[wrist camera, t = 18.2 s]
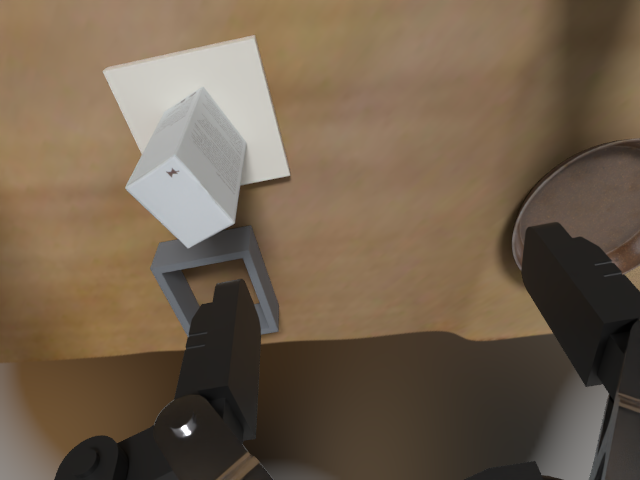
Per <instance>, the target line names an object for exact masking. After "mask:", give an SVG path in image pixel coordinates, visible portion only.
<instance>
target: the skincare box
mask: <svg viewBox="0 0 640 480" xmlns="http://www.w3.org/2000/svg"><path fill="white" fill-rule="evenodd" d="M245 151H246V141H245V140H244V139H243V138H242V136H241V135H240V134H239V132H238V131H237V130H236V128H235V127H234V126H233V124H232V123H231V122H230V121H229V119H228V118H227V117H226V115H225V114H224V113H223V111H222V110H221V109H220V108H219V106H218V105H217V104H216V102H215V101H214V100H213V99H212V97H211V96H210V95H209V93H208V92H207V91H206V89H205V88H204V87H201V88H200V89H198V90H197V91H195V92H194V93H192V94H190V95H189V96H187V97H186V98H184V99H183V100H182V101H180V102H179V103H177V104H176V105H174V106H173V107H171V108H170V109H168V110H167V111H165V112H164V113H163V115H162V117H161V119H160V121H159V123H158V125H157V127H156V129H155V131H154V133H153V135H152V137H151V139H150V140H149V142H148V144H147V146H146V148H145V150H144V152H143V154H142V156H141V158H140V160H139V162H138V164H137V165H136V167H135V169H134V171H133V173H132V175H131V177H130V179H129V181H128V183H127V185H126V190H127V191H128V192H129V193H130V194H131V195H132V196H133V197H134V198H135V199H137V200H138V201H139V202H140V203H141V204H142V205H143V206H144V207H145V208H146V209H147V210H148V211H149V212H150V213H151V214H152V215H153V216H154V217H155V218H156V219H158V220H159V221H160V222H161V223H162V224H163V225H164V226H165V227H166V228H167V229H168V230H169V231H170V232H171V233H172V234H173V235H174V236H175V237H176V238H178V239H179V240H180V241H181V242H182V243H183V244H184V245H185V246H186V247H187V248H190V247H192V246H194V245H196V244H198V243H199V242H201V241H203V240H205V239H207V238H209V237H211V236H213V235H215V234H216V233H218V232H220V231H222V230H224V229H226V228H228V227H230V226H232V225H233V224H235V220H236V212H237V205H238V198H239V191H240V185H241V178H242V171H243V164H244V158H245Z"/></svg>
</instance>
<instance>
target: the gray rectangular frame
mask: <svg viewBox="0 0 640 480" xmlns="http://www.w3.org/2000/svg"><path fill="white" fill-rule="evenodd" d="M240 258H243V260H244V263H245V265H246V268H247V270H248V273H249V276H250V278H251V281H252V284H253V286H254V289H255V291H256V294H257V297H258V299H259V302H260V303H259V304H254V306H255V309H256V311H257V314H258V317H259V321H260V327H261V334H267V333H272V332H278V324H279V304H278V301H277V299H276V296H275V293H274V290H273V287H272V284H271V281H270V278H269V275H268V273H267V270H266V267H265V264H264V261H263V258H262V255H261V252H260V250H259V247H258V244H257V241H256V238H255V235H254V232H253V229H252V226H251V225H250V226H245V227H240V228H234V229H229V230H224V231H220V232H218V233H216V234H215V235H213V236H211V237H209V238H207V239H205V240H203V241H201V242H199V243H198V244H196V245H194V246H192V247H190V248H187V247H186V246H185V245H184V244H183V243H182V242H181V241H180V240H179V239H177V240H172V241H167V242H161V243H159V246H158V248H157V251H156V254H155V257H154V259H153V262H152V265H151V268H150V269H151V271H152V273H153V274H154V276H155V278H156V280H157V282H158V283H159V285H160V287H161V289H162V291H163V293H164V294H165V296H166V298H167V300H168V302H169V303H170V305H171V307H172V309H173V311H174V312H175V314H176V316H177V318H178V320H179V321H180V323H181V325H182V327H183V329H184V330H185V332H186V334H187V336H188V337H189V335H188V334H189V330H190V325H191V320H192V318H193V317H194V315H195V314H196V312H197V311H198V309H199V308H200V307H199V305H198V303H197V301H196V299H195V297H194V295H193V293H192V291H191V289H190V287H189V285H188V283H187V281H186V279H185V277H184V275H183V273H182V271H181V270H182V269H187V268H192V267H198V266H203V265H208V264H214V263H219V262H224V261H230V260H235V259H240Z"/></svg>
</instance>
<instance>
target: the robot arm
mask: <svg viewBox="0 0 640 480" xmlns="http://www.w3.org/2000/svg"><path fill="white" fill-rule="evenodd" d="M521 270H522V278H523V282H524V285H525V287H526V289H527V291H528V293H529V294H530V296H531V298H532V299H533V301H534V303H535V304H536V306H537V307H538V309H539V311H540V312H541V314H542V316H543V317H544V319H545V321H546V322H547V324H548V325H549V327H550V329H551V330H552V332H553V334H554V335H555V337H556V338H557V340H558V342H559V343H560V345H561V347H562V348H563V350H564V352H565V353H566V355H567V356H568V358H569V360H570V361H571V363H572V365H573V366H574V368H575V370H576V371H577V373H578V374H579V376H580V378H581V379H582V381H583V383H584V384H585V386H586V387H587V386H594V385H601V384H603V385H604V386H605V388H606V390H607V391H608V393H609V395H608V398H607V402H606V407H605V411H604V415H603V420H602V425H601V429H600V434H599V439H598V444H597V448H596V453H595V458H594V462H593V466H592V470H591V473H590V477H589V480H640V291H639V290H638V289H637V288H636V287H635V286H634V285H633V284H632V283H631V281H630V280H629V279H628V278H627V277H626V276H625V275H624V274H623V275H622V271H621V270H620V269H619V268H618V267H617V266H616V265H615V263H612V260H611V259H610V258H609V257H608V256H607V255H606V253H605V252H604V251H603V250H602V249H601V248H600V247H599V246H597V245H596V244H594V243H592V242H590V241H589V240H587V239H585V238H583V237H581V236H580V237H575V238H572V237H571V236H570V235H569V233H568V232H567V231H566V230H565V229H564V227H563V226H562V225H561V224H560V223H558V222H552V223H547V224H541V225H536V226H530V227H528V228H527V229H526V232H525V240H524V249H523V259H522V269H521ZM188 335H189V337H188V339H187V343H186V350H185V353H184V357H183V362H182V366H181V371H180V376H179V381H178V385H177V389H176V394H175V398H174V400H173V401H172V402H170V403H169V404H168V405H167V406H166V407H165V408H164V409H163V410H162V411H161V412H160V414H159V415H158V417H157V419H156V421H155V424H154V425H153V426H152V427H150V428H148V429H146V430H144V431H142V432H140V433H138V434H136V435H134V436H132V437H129V438H127V439H125V440H123V441H121V442H119V443H116V442H115V441H114V440H113V439H112V438H110V437H108V436H95V437H91V438H89V439H87V440H85V441H83V442H81V443H80V444H79V445H77V446H76V447H74V449H72V450H71V451H70V452H69V453H68V454H67V456H66V457H65V458H64V460H63V461H62V463H61V464H60V466H59V468H58V471H57V473H56V477H55V479H54V480H273V478H272V477H271V476H270V475H269V473H268V472H267V471H266V470H265V469H264V467H263V466H262V465H261V463H260V462H259V461H258V460H257V459H256V458H255V457H254V456H253V455H250V453H249V452H248V451H247V450H246V449H245V447H244V446H243V441H244V440H250V439H255V438H256V422H257V403H258V384H259V364H260V346H261V327H260V321H259V317H258V314H257V311H256V309H255V306H254V303H253V301H252V298H251V296H250V293H249V291H248V288H247V286H246V283H245V281H244V280H243V279H238V280H233V281H227V282H222V283H217V284H216V287H215V292H214V297H213V302H212V303H207V304H202V305H201V306H200V308H199V309H198V311H197V312H196V314H195V315H194V317H193V318H192V320H191V325H190V330H189V334H188ZM465 480H562V479H559V478H554V477H550V476H544V475H541V473H540V471H539V468H538V466H537V464H536V462H535V461H533V462H527V463H520V464H513V465H507V466H501V467H493V468H488V469H486V470H484V471H482V472H480V473H477V474H475V475H473V476H471V477H469V478H467V479H465Z"/></svg>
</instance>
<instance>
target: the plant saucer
mask: <svg viewBox="0 0 640 480" xmlns="http://www.w3.org/2000/svg"><path fill="white" fill-rule="evenodd" d="M552 222H558V223H560V224H561V225H562V226H563V227H564V229H565V230H566V231H567V232H568V233H569V235H570V236H571V237H572V238H575V237H580V236H581V237H583V238H585V239H587V240H589V241H590V242H592V243H594V244H596V245H597V246H599V247H600V248H601V249H602V250H603V251H604V252H605V253H606V255H607V256H608V257H609V258H610V259H611V260H612V263H615V265H616V266H617V267H618V268H619V269H620V270H621V271H622V275H623V274H626V273H628V272H630V271H631V270H633V269H635V268H636V267H638V266H640V139H626V140H618V141H613V142H609V143H604V144H601V145H597V146H594V147H592V148H589V149H586V150H584V151H582V152H580V153H578V154H576V155H574V156H572V157H570V158H568V159H567V160H565V161H563V162H562V163H560V164H559V165H558V166H556V167H555V168H554V169H552V170H551V171H550V172H549V173H548V174H546V175H545V176H544V177H543V178H542V179H541V180H540V181H539V182H538V183H537V184H536V186H535V187H534V188H533V189H532V190H531V192H530V193H529V195H528V196H527V198H526V199H525V201H524V203H523V205H522V207H521V209H520V211H519V213H518V215H517V218H516V221H515V225H514V229H513V236H512V251H513V256H514V259H515V262H516V264H517V266H518V267H519V269H520V270H521V269H522V259H523V249H524V240H525V232H526V229H527V228H528V227H530V226H536V225H541V224H547V223H552ZM521 271H522V270H521Z"/></svg>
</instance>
